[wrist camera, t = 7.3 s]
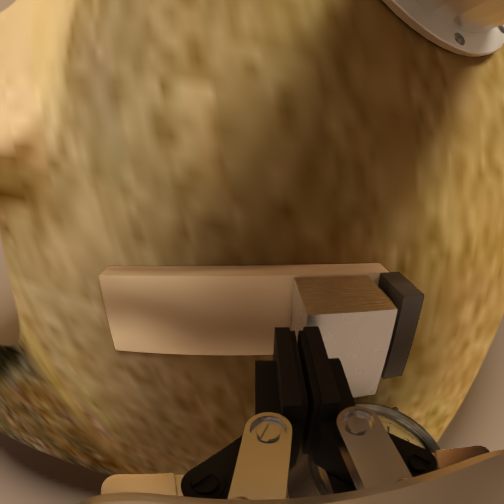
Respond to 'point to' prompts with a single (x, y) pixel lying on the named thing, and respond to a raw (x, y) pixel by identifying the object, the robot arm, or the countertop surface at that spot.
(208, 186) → the countertop surface
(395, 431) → the alarm clock
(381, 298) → the block
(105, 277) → the track
